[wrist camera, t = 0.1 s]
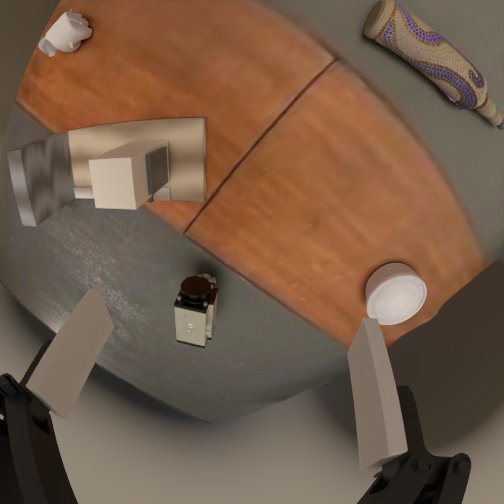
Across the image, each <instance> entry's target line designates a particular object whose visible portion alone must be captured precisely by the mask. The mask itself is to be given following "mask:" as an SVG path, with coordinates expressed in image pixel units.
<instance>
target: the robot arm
mask: <svg viewBox="0 0 504 504" xmlns="http://www.w3.org/2000/svg"><path fill="white" fill-rule="evenodd" d="M114 327H115V326H114V324H113V322H112V320H111V317H110V315H109V313H108V310H107V308H106V305H105V303H104V300H103V298H102V295H101V293H100V291H97V290H92V289H89V290H88V291H87V293H86V294H85V295H84V297H83V298H82V299H81V301H80V302H79V303H78V305H77V306H76V308H75V309H74V310H73V312H72V313H71V314H70V316H69V317H68V319H67V320H66V322H65V323H64V325H63V326H62V327H61V329H60V330H59V332H58V333H57V335H56V336H55V338H54V340H51V339H49V340H48V341H47V342H46V343H45V344H44V345H43V346H42V347H41V349H40V350H39V352H38V355H36V357H35V358H34V361H33V362H32V363H31V365H30V367H29V369H28V370H27V372H26V373H25V375H24V377H23V379H22V381H21V382H20V383H19V384H18V382H17V381H16V380H15V379H14V378H13V377H12V376H11V375H10V374H8V373H7V374H3V375H1V376H0V414H2V415H3V416H4V418H3V420H1V419H0V504H78V502H77V500H76V498H75V495H74V493H73V490H72V488H71V485H70V482H69V480H68V477H67V474H66V471H65V468H64V465H63V462H62V459H61V455H60V452H59V448H58V445H57V441H56V437H55V433H54V429H53V424H52V419H51V416H50V414H49V411H50V410H51V411H52V412H53V413H54V414H55V415H57V416H59V417H60V418H62V419H64V420H66V421H67V419H68V417H69V415H70V413H71V411H72V408H73V406H74V404H75V401H76V399H77V397H78V395H79V393H80V391H81V389H82V387H83V385H84V383H85V381H86V379H87V377H88V375H89V373H90V371H91V369H92V367H93V365H94V363H95V362H96V360H97V358H98V356H99V354H100V352H101V350H102V348H103V347H104V345H105V343H106V341H107V339H108V337H109V336H110V334H111V332H112V330H113V329H114ZM347 355H348V362H349V368H350V375H351V382H352V390H353V398H354V407H355V415H356V425H357V437H358V448H359V466H360V471H366V470H372V469H377V468H379V467H380V466H382V471H381V472H378V473H377V474H376V475H374V478H376V477H377V479H376V480H375V481H374V483H373V484H372V485H371V487H370V488H369V489H368V490H367V492H366V493H365V494H364V496H363V497H362V498H361V499H360V500H359V502H358V503H357V504H462V500H463V497H464V493H465V490H466V487H467V483H468V479H469V474H470V470H471V460H470V458H469V456H468V455H467V454H464V453H459V454H457V455H455V456H453V457H438V456H433V455H432V454H430V453H429V452H428V451H427V450H426V448H425V446H424V442H423V436H422V431H421V426H420V421H419V416H418V412H417V408H416V403H415V399H414V395H413V393H412V392H411V390H410V389H409V387H408V386H407V385H405V386H396V385H395V381H394V377H393V373H392V369H391V365H390V361H389V357H388V353H387V349H386V346H385V342H384V339H383V335H382V332H381V329H380V325H379V322H378V319H377V318H363V319H362V321H361V324H360V326H359V328H358V331H357V333H356V335H355V338H354V340H353V342H352V344H351V346H350V349H349V351H348V353H347Z"/></svg>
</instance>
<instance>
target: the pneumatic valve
mask: <svg viewBox="0 0 504 504" xmlns="http://www.w3.org/2000/svg"><path fill="white" fill-rule="evenodd" d="M216 281H217V279H216V278H215V277H211V275H209V274H198V276H193V277H187V278H186V279H185V280H184V281H183V282H182V283H181V290H180V292H179V294H178V296H177V299H176V301H175V303H174V308H175V323H176V335H177V342H180V343H184V344H188V345H191V346H196V347H200V348H205V346H206V343H207V340H211V339H212V335H213V332H214V328H215V320H216V308H217V296H218V288H216Z"/></svg>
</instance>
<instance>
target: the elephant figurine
mask: <svg viewBox="0 0 504 504" xmlns="http://www.w3.org/2000/svg"><path fill="white" fill-rule="evenodd" d="M81 17H82V15H81V14H77V13H72V9H71V11H70V12H65V13H64V14H63V15H62V16H61V17H60V18H59V19H58V20H57V21H56V22H55V24H54V25H53V26H52V27H51V28H50V29H49V30H48V32H47V33H46V36H45V37H44V38H43V39H42V40H41V41H40V42H39V48H40V50H41V51H43V52H44V53H45V54H47V55H48V56H49V57H50V56H53V55H55V54H56V52H57V51H58V49H59V50H61V51H63V52H72V51H74V50H76V49H77V48H79V46H80V44H81V41H80V40H83V39H86V38H89V37H90V36H91V35H92V29H91V28H89V27H87V26H88V25H89V23H88V21H86V20H85V19H83V18H81Z"/></svg>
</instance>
